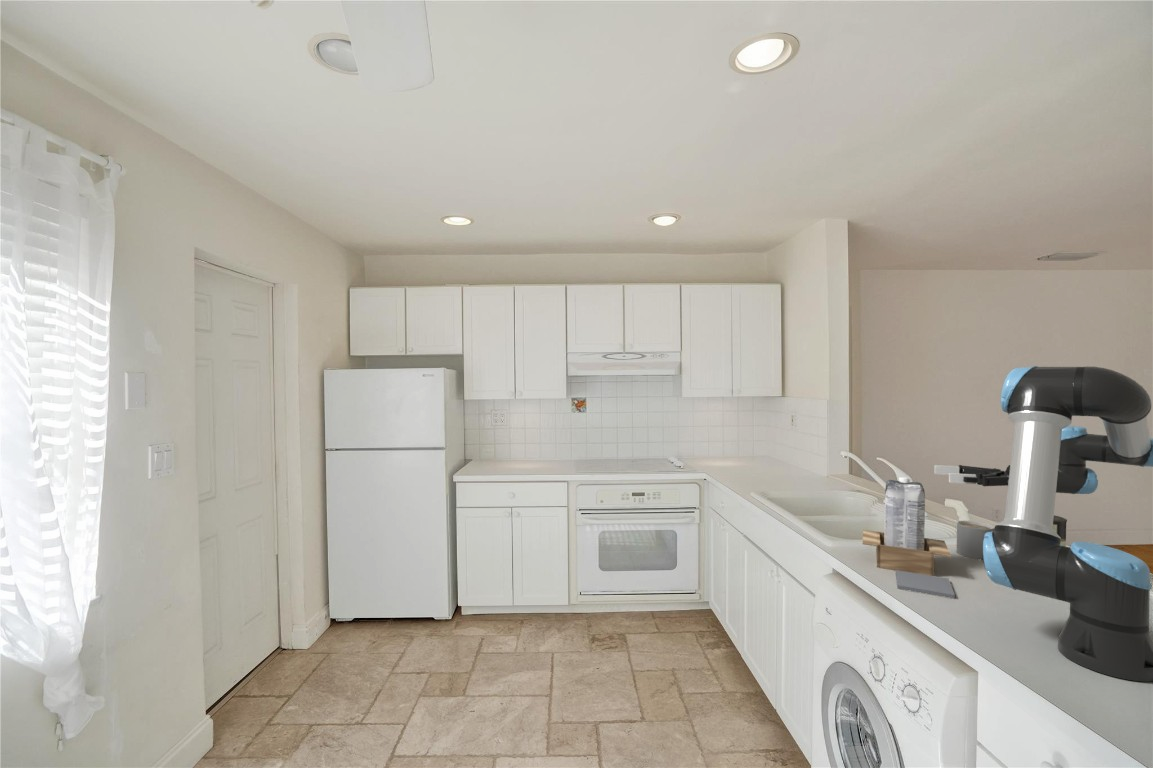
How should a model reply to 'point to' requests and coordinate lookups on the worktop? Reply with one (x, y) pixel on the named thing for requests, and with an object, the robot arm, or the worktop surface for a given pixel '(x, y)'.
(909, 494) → the juice carton
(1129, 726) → the worktop surface
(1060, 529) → the coffee can
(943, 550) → the crate
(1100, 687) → the worktop surface
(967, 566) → the worktop surface
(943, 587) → the mat
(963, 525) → the coffee mug
